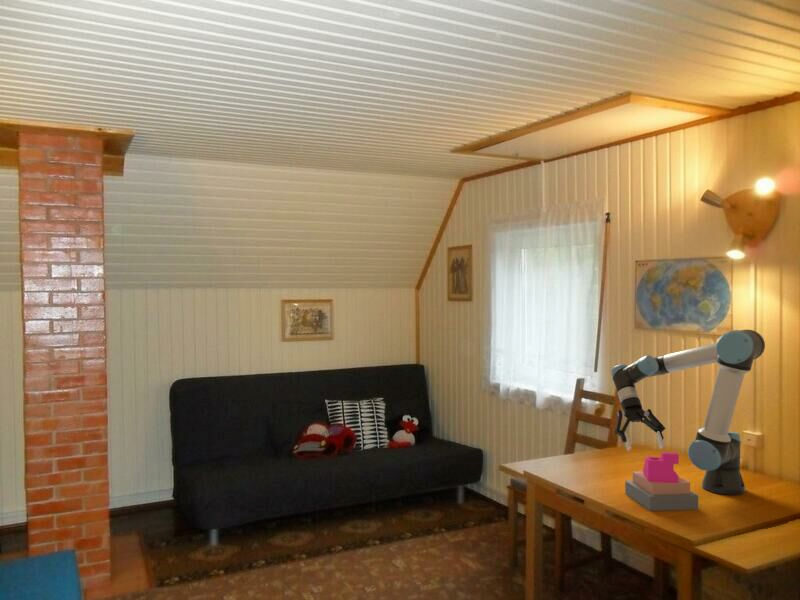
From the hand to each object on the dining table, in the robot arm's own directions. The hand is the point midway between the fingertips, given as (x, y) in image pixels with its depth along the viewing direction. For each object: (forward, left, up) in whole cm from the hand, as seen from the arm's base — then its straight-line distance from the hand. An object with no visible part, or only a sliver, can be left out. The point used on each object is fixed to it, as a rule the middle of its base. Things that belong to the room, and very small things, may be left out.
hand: (646, 448), depth 259 cm
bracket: (+1, +14, -7) cm, 16 cm away
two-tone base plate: (+1, +13, -16) cm, 21 cm away
